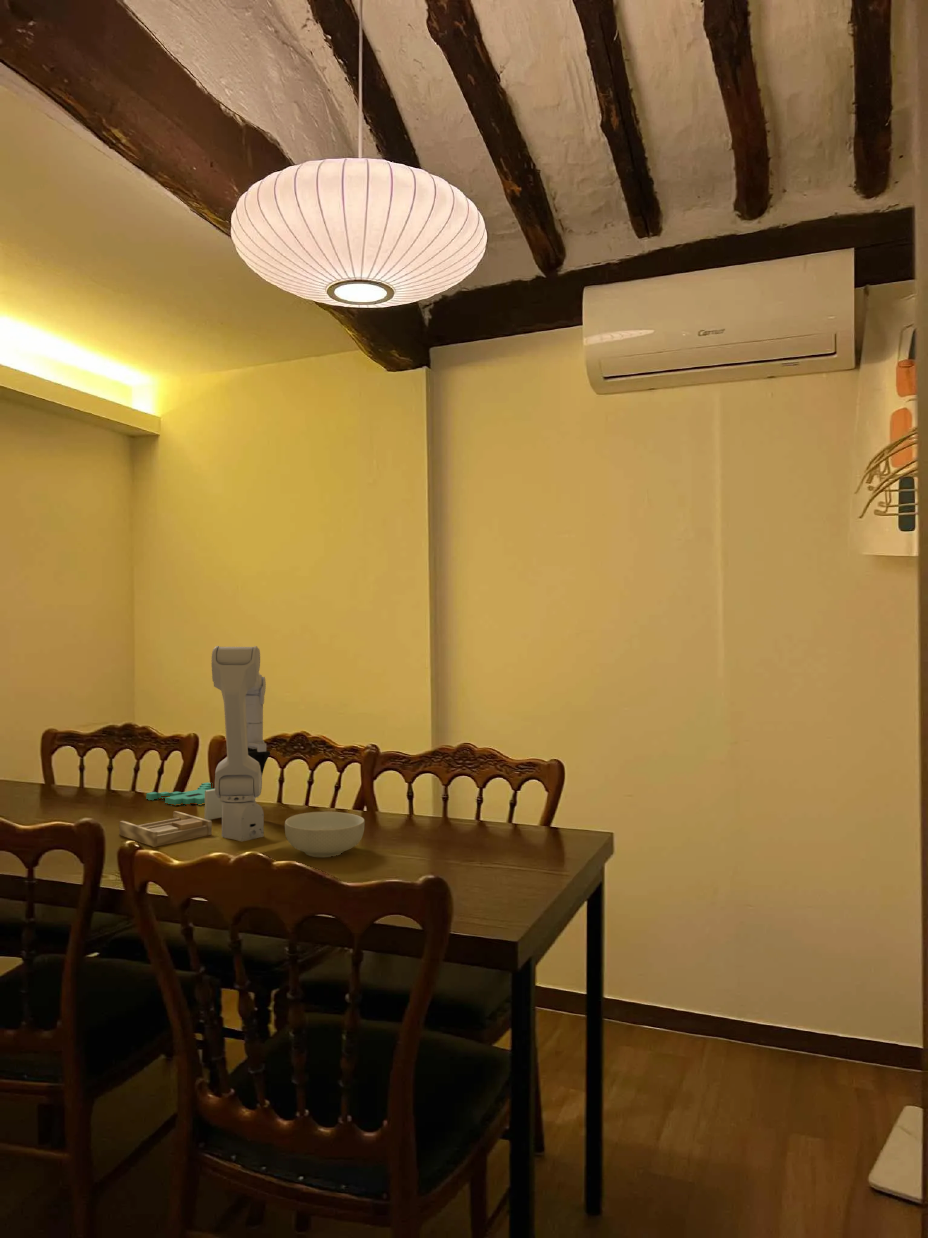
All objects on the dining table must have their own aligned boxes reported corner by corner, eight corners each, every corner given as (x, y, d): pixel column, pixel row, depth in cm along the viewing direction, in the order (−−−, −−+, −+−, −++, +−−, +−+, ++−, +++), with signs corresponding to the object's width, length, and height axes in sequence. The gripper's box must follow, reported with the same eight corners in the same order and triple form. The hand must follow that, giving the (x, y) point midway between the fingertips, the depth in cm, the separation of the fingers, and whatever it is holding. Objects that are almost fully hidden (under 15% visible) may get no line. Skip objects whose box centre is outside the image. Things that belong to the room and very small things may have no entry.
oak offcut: (202, 834, 190) (202, 821, 190) (181, 838, 186) (181, 825, 186) (192, 831, 192) (192, 818, 192) (171, 835, 188) (172, 822, 188)
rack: (211, 838, 190) (211, 821, 190) (153, 851, 179) (153, 832, 179) (176, 827, 200) (176, 811, 200) (119, 839, 189) (119, 821, 189)
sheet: (242, 817, 211) (242, 785, 211) (207, 824, 204) (207, 791, 204) (239, 816, 212) (239, 785, 212) (204, 823, 204) (204, 790, 204)
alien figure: (146, 801, 231) (189, 811, 219) (146, 793, 231) (189, 803, 219) (207, 790, 247) (251, 799, 235) (207, 782, 247) (251, 791, 235)
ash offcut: (178, 839, 185) (178, 828, 185) (156, 844, 181) (156, 832, 181) (168, 836, 188) (168, 825, 188) (146, 840, 184) (146, 829, 184)
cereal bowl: (324, 869, 168) (325, 833, 168) (267, 855, 177) (268, 821, 177) (380, 850, 182) (380, 817, 182) (324, 838, 191) (325, 807, 191)
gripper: (224, 720, 213) (224, 774, 212) (246, 726, 201) (246, 783, 201) (251, 719, 217) (251, 771, 217) (274, 724, 205) (274, 780, 205)
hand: (250, 777), depth 209 cm, fingers open, 7 cm apart
